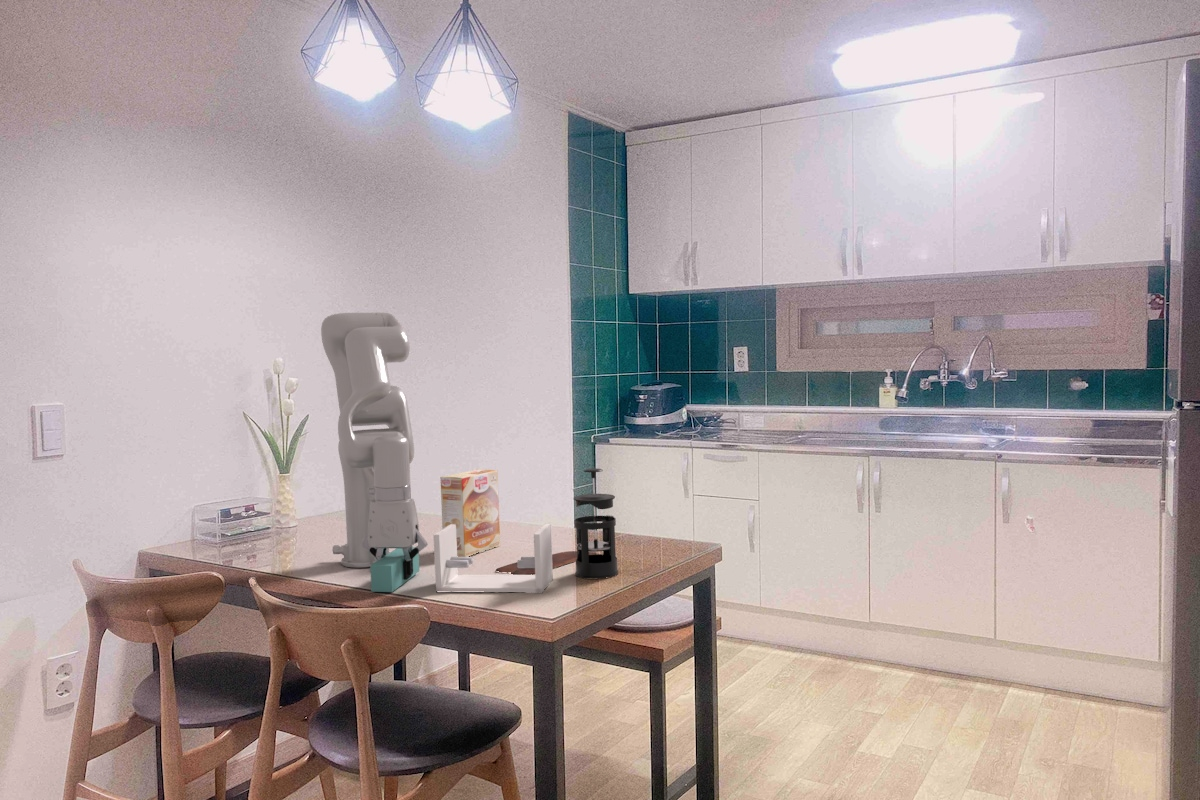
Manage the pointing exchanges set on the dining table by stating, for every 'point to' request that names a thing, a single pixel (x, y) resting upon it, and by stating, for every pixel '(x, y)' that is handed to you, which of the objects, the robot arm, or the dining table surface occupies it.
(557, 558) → the wooden tablet
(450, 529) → the peg frame
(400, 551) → the plank
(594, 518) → the french press
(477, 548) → the coffeecake box
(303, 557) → the dining table surface
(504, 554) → the dining table surface
